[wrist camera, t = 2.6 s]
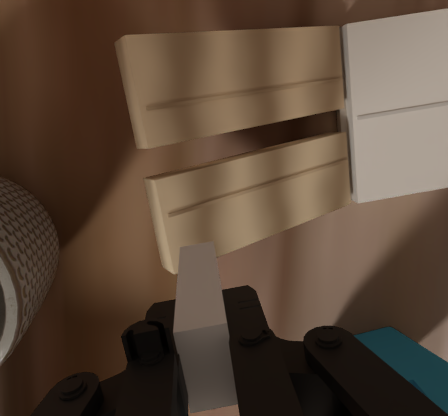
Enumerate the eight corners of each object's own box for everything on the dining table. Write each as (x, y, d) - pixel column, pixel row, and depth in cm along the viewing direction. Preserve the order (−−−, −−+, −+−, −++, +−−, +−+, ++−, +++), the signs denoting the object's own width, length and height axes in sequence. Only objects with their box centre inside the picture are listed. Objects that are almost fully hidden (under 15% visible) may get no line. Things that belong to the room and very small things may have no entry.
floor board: (342, 199, 36) (352, 204, 34) (330, 29, 32) (340, 24, 30) (449, 180, 36) (464, 184, 34) (449, 11, 33) (467, 5, 31)
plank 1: (136, 148, 25) (148, 148, 23) (113, 42, 23) (125, 34, 21) (326, 109, 34) (345, 108, 32) (320, 31, 32) (339, 25, 30)
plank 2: (162, 266, 27) (174, 274, 25) (143, 178, 25) (155, 180, 24) (333, 201, 36) (351, 203, 34) (328, 132, 34) (347, 131, 32)
